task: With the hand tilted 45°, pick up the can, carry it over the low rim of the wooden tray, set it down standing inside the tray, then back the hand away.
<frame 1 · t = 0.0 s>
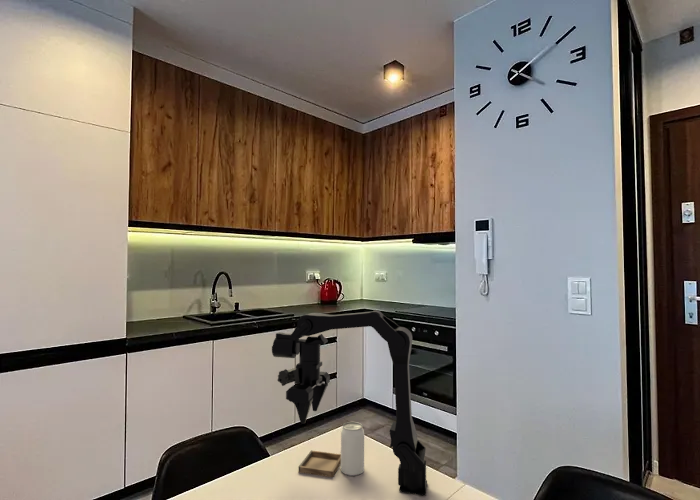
hand: (309, 416, 105), 15 cm above the table, tool pointing down, fingers open, 9 cm apart
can: (352, 471, 105), on the table
wooden tray: (321, 465, 107), on the table
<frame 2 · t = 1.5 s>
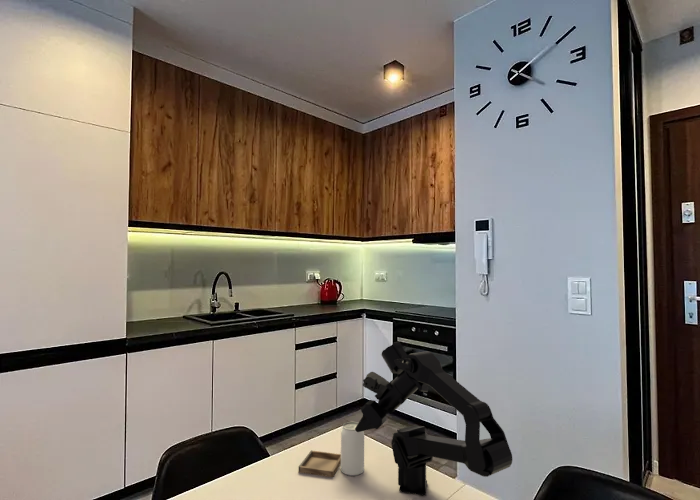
hand: (362, 424, 104), 13 cm above the table, tool tilted 45°, fingers open, 9 cm apart
nothing on the table moved.
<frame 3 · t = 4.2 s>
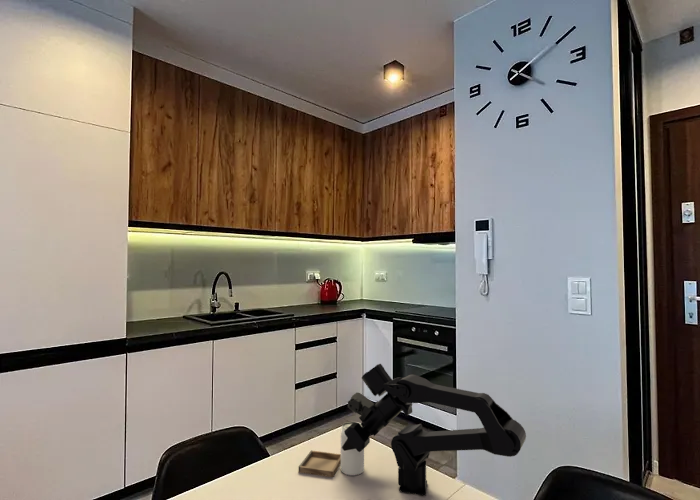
hand: (347, 444, 106), 7 cm above the table, tool tilted 45°, fingers closed on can, 6 cm apart
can: (352, 470, 105), on the table, touching gripper
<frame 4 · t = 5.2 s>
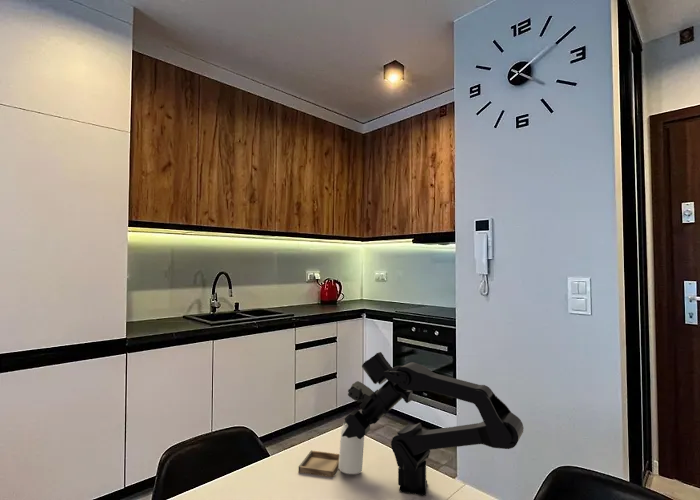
hand: (348, 432, 106), 10 cm above the table, tool tilted 45°, fingers closed on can, 6 cm apart
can: (350, 470, 103), point 1 cm above the table, touching gripper
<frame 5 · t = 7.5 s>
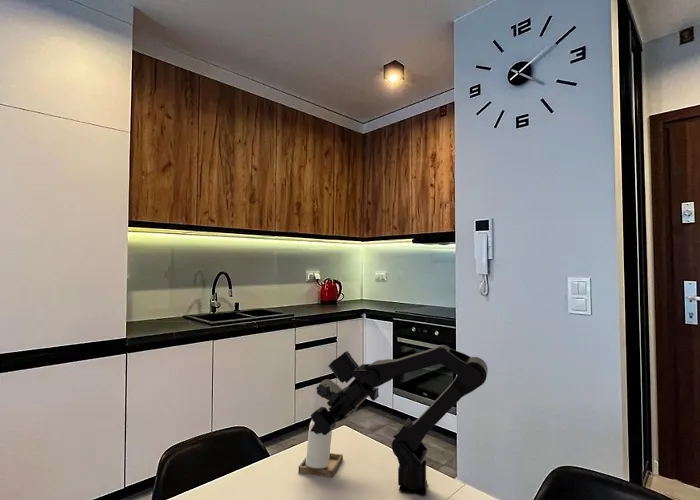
hand: (317, 429, 108), 10 cm above the table, tool tilted 45°, fingers closed on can, 6 cm apart
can: (316, 466, 105), point 1 cm above the table, touching gripper, wooden tray
when the fingers open (9 cm above the table, at t = 8.7 s): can stays where it is, resting on wooden tray.
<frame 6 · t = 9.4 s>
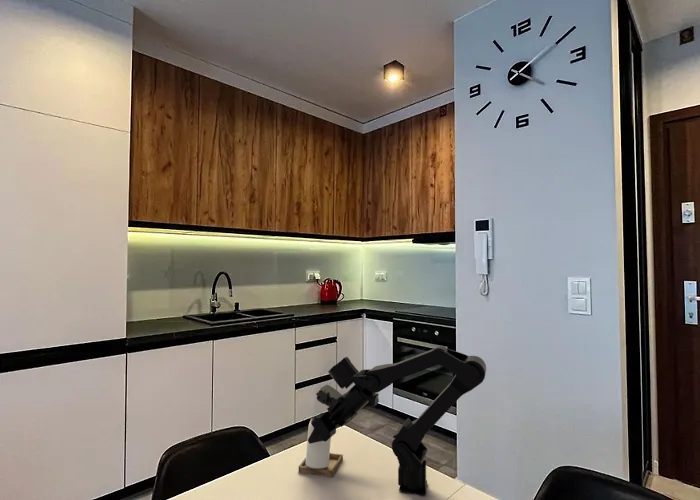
hand: (317, 435, 108), 8 cm above the table, tool tilted 45°, fingers open, 9 cm apart
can: (316, 466, 105), point 1 cm above the table, touching wooden tray
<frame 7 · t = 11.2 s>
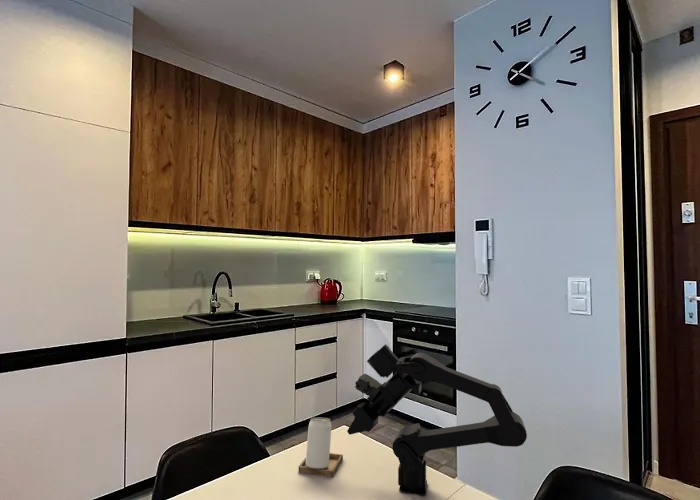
hand: (355, 426, 104), 12 cm above the table, tool tilted 45°, fingers open, 9 cm apart
nothing on the table moved.
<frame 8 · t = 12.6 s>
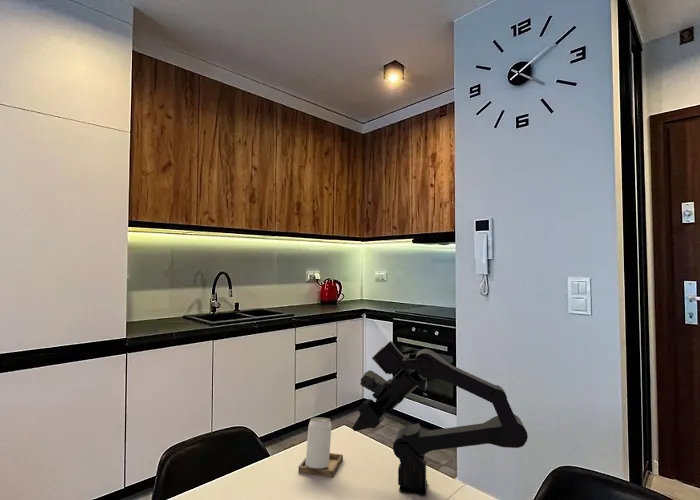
hand: (360, 423, 103), 14 cm above the table, tool tilted 45°, fingers open, 9 cm apart
nothing on the table moved.
at the end: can 2.5 cm off-centre on the wooden tray, point 0.8 cm above the wooden tray's base; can tilted 13°; the gripper is holding nothing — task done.
